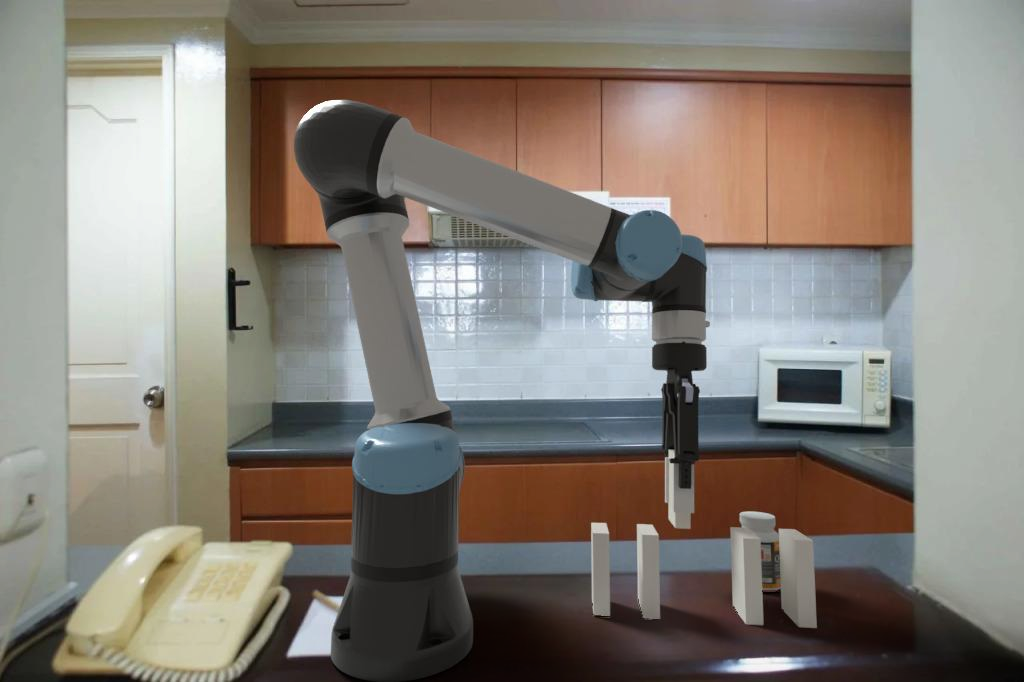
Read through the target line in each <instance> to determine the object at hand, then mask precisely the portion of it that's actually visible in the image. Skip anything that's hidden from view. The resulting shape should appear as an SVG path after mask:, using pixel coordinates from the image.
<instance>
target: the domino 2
mask: <svg viewBox="0 0 1024 682" xmlns="http://www.w3.org/2000/svg"><path fill="white" fill-rule="evenodd" d="M636 551H637V552H636V554H637V557H636V558H637V561H636V562H637V565H636V566H637V600H638V599H639V604H640V607H641V610H640V612H641V611H642V613H641V616H642V615H643V616H642V619H643V618H645V619H644V620H647V619H646V618H649V619H648V620H652V619H660V620H661V601H660V600H661V595H660V594H661V593H660V589H661V588H660V586H661V585H660V584H661V583H660V582H661V581H660V578H661V577H660V536H659V533H658V532H657V530H656V528H655V527H654V525H653V524H646V523H637V524H636ZM639 604H638V605H639ZM640 607H639V608H640Z"/></svg>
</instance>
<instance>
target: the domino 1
mask: <svg viewBox="0 0 1024 682" xmlns="http://www.w3.org/2000/svg"><path fill="white" fill-rule="evenodd" d="M590 526H591V527H590V531H591V533H590V537H591V538H590V541H591V544H590V545H591V546H590V547H591V551H590V552H591V553H590V554H591V556H590V560H591V604H592V603H593V606H592V614H594V615H601V616H610V617H611V585H610V584H611V583H610V581H611V580H610V579H611V578H610V577H611V576H610V574H611V573H610V570H611V569H610V566H611V565H610V532H609V528H608V524H607V522H590ZM594 615H593V616H594Z"/></svg>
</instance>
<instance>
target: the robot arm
mask: <svg viewBox="0 0 1024 682" xmlns="http://www.w3.org/2000/svg"><path fill="white" fill-rule="evenodd" d="M293 153H294V158H295V161H296V163H297V166H298V169H299V171H300V172H301V173H302V176H303V177H304V178H305V180H306V181H307V183H308V184H309V185H310V186H311V188H312V189H313V190H314V192H315V193H317V196H318V199H319V202H320V207H321V212H322V216H323V221H324V227H325V231H326V232H325V233H326V235H327V238H328V239H329V240H330V241H332V242H334V243H335V244H336V245H338V246H339V247H340V248H341V252H342V257H343V263H344V267H345V273H346V276H347V280H348V286H349V292H350V296H351V300H352V305H353V309H354V314H355V319H356V324H357V329H358V330H357V331H358V333H359V340H360V345H361V347H362V353H363V358H364V362H365V363H364V364H365V368H366V372H367V378H368V381H369V383H368V384H369V387H370V391H371V396H372V402H373V405H374V406H373V407H374V411H375V412H374V415H373V417H372V419H370V421H369V424H368V425H367V426H366V429H367V430H366V431H364V432H363V433H362V434H360V436H359V437H358V438H357V440H356V442H355V447H354V454H353V458H352V462H351V467H352V468H351V470H352V474H353V477H352V478H353V480H352V507H351V509H352V510H351V511H352V512H351V541H350V542H351V548H350V549H351V550H350V551H351V552H350V559H351V560H350V575H349V579H348V581H347V585H346V588H345V591H344V594H343V597H342V600H341V601H340V606H339V607H338V612H337V614H336V618H335V620H334V622H333V626H332V630H331V639H330V658H331V661H332V663H333V664H334V666H335V667H336V668H337V669H338V670H339V671H341V672H342V673H344V674H345V675H348V676H351V677H353V678H356V679H359V680H364V681H368V682H407V681H409V682H410V681H412V680H419V679H423V678H427V677H431V676H434V675H436V674H439V673H441V672H444V671H446V670H448V669H451V668H452V667H453V666H454V667H455V666H456V665H457V664H458V663H460V662H461V661H462V660H463V659H465V658H466V656H468V654H469V653H470V651H471V650H472V647H473V644H474V619H473V614H472V611H471V607H470V605H469V601H468V597H467V595H466V592H465V591H466V590H465V588H464V583H463V581H462V577H461V574H460V571H459V527H460V526H459V525H460V524H459V523H460V519H459V517H460V513H459V512H460V491H461V486H462V484H463V481H464V476H465V469H466V464H465V463H466V462H465V456H464V453H463V452H464V451H463V450H462V448H461V447H460V440H459V437H458V436H459V435H458V434H457V433H456V428H455V425H454V421H453V415H452V411H451V408H450V406H449V405H447V404H446V403H444V402H442V401H440V400H439V398H438V397H437V393H436V390H435V383H434V379H433V374H432V370H431V367H430V360H429V356H428V352H427V347H426V343H425V339H424V338H425V337H424V333H423V329H422V323H421V319H420V315H419V310H418V306H417V305H418V304H417V300H416V296H415V293H414V292H415V291H414V287H413V283H412V278H411V274H410V269H409V265H408V259H407V254H406V250H405V245H404V241H403V235H405V233H406V232H407V230H408V229H409V227H410V226H411V225H410V219H409V214H408V209H407V205H406V199H409V200H411V201H413V202H416V203H419V204H422V205H424V206H427V207H430V208H432V209H435V210H437V211H440V212H443V213H446V214H447V215H451V216H453V217H457V218H459V219H461V220H464V221H467V222H469V223H472V224H475V225H477V226H479V227H482V228H485V229H487V230H491V231H493V232H496V233H498V234H501V235H502V236H503V235H504V236H507V237H509V238H511V239H514V240H517V241H520V242H523V243H525V244H528V245H531V246H533V247H536V248H538V249H540V250H544V251H545V252H549V253H551V254H554V255H556V256H559V257H561V258H565V259H567V260H569V261H571V262H572V263H571V273H570V286H571V292H572V294H573V296H574V297H575V298H577V299H578V300H579V299H580V300H590V301H594V302H598V301H610V302H612V301H613V302H615V301H616V302H620V301H621V302H640V303H651V306H652V310H651V340H652V341H653V342H655V344H653V346H652V347H651V348H652V349H651V352H652V353H651V367H652V368H653V370H654V371H663V372H664V371H666V372H667V375H666V381H665V383H663V384H662V386H661V391H660V392H661V396H662V397H661V398H662V431H661V432H662V435H661V436H662V438H661V440H662V443H661V450H662V451H663V454H664V503H665V504H668V486H669V462H670V463H673V512H680V513H691V514H695V463H696V462H699V459H700V455H699V400H700V399H699V398H700V392H701V391H700V387H699V386H697V385H696V383H694V381H693V380H694V379H693V373H692V372H703V371H705V370H706V369H707V366H708V365H707V359H708V358H707V353H708V352H707V346H706V345H705V344H702V342H705V341H706V340H707V328H710V325H711V322H710V321H708V320H706V318H707V306H706V305H707V303H706V302H707V272H708V266H707V253H706V247H705V246H706V245H705V242H704V241H703V240H702V239H701V238H699V236H696V235H691V234H682V233H681V230H680V227H679V226H678V224H677V223H676V221H675V220H674V219H673V218H672V217H670V216H669V215H667V214H666V213H664V212H662V211H659V210H656V209H655V210H654V209H647V210H646V209H645V210H642V211H637V212H636V213H633V214H628V213H626V212H623V211H621V210H618V209H615V208H612V207H609V206H607V205H605V204H602V203H600V202H597V201H594V200H592V199H589V198H587V197H585V196H582V195H579V194H577V193H574V192H571V191H569V190H566V189H563V188H561V187H559V186H556V185H553V184H552V183H551V184H550V183H548V182H545V181H543V180H541V179H538V178H535V177H533V176H530V175H528V174H526V173H522V172H520V171H517V170H515V169H512V168H510V167H508V166H504V165H502V164H500V163H497V162H494V161H492V160H489V159H487V158H485V157H482V156H479V155H477V154H474V153H471V152H469V151H466V150H463V149H460V148H459V147H456V146H453V145H452V144H448V143H446V142H443V141H440V140H438V139H435V138H433V137H431V136H427V135H425V134H423V133H420V132H417V131H416V130H415V129H414V127H413V125H412V123H411V121H410V119H409V118H406V117H403V116H401V115H398V114H396V113H393V112H390V111H388V110H386V109H384V108H382V107H381V108H380V107H377V106H374V105H371V104H368V103H364V102H360V101H356V100H349V99H336V100H335V99H333V100H328V101H324V102H322V103H320V104H317V105H315V106H314V107H313V108H311V109H310V110H308V112H307V113H306V114H304V115H303V117H302V118H301V119H300V121H299V122H298V125H297V126H296V130H295V133H294V137H293ZM405 198H406V199H405ZM669 450H674V452H675V457H674V458H671V459H669Z"/></svg>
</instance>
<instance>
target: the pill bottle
mask: <svg viewBox="0 0 1024 682" xmlns="http://www.w3.org/2000/svg"><path fill="white" fill-rule="evenodd" d="M776 522H777V521H776V516H775V515H773V514H771V513H767V512H761V511H752V510H751V511H742V512H739V523H740V524H741V527H743V528H747V529H749V530H750V531H751V532H752V533H754V534H755V535H756V536H757V537H759V538H760V540H761V568H762V590H778V589H781V579H780V553H779V532H777V531H776V530H775V528H776V525H777V523H776Z"/></svg>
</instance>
